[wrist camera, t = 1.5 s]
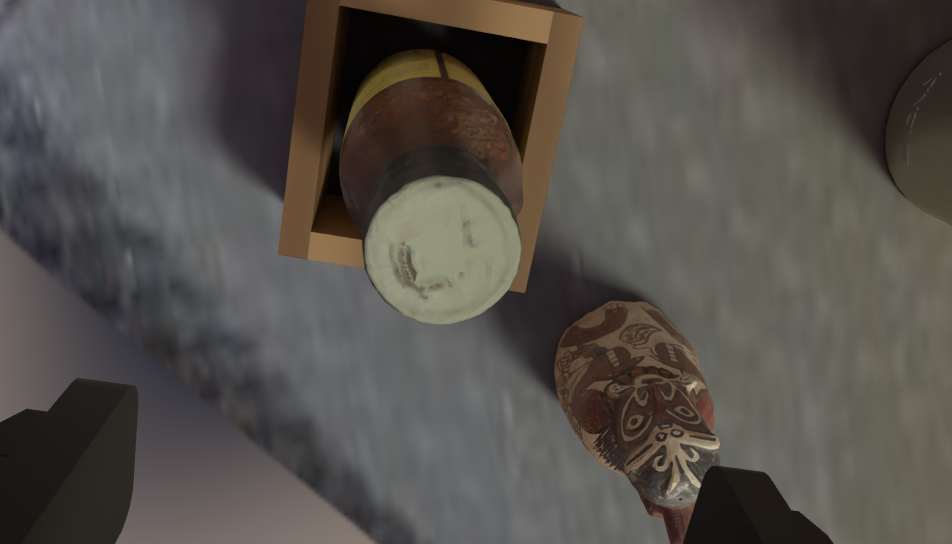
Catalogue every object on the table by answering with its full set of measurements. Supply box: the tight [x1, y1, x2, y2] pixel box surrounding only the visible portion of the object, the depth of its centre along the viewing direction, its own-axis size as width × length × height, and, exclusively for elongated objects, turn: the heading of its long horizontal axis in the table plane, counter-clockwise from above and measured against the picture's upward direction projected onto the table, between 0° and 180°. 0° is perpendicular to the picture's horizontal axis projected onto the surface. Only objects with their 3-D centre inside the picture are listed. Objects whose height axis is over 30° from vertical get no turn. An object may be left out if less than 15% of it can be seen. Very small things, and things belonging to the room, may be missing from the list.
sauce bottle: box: [340, 49, 523, 325], centre depth 31 cm, size 7×6×20 cm
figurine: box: [554, 301, 720, 544], centre depth 40 cm, size 7×7×12 cm
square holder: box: [278, 0, 584, 293], centre depth 37 cm, size 10×11×6 cm
